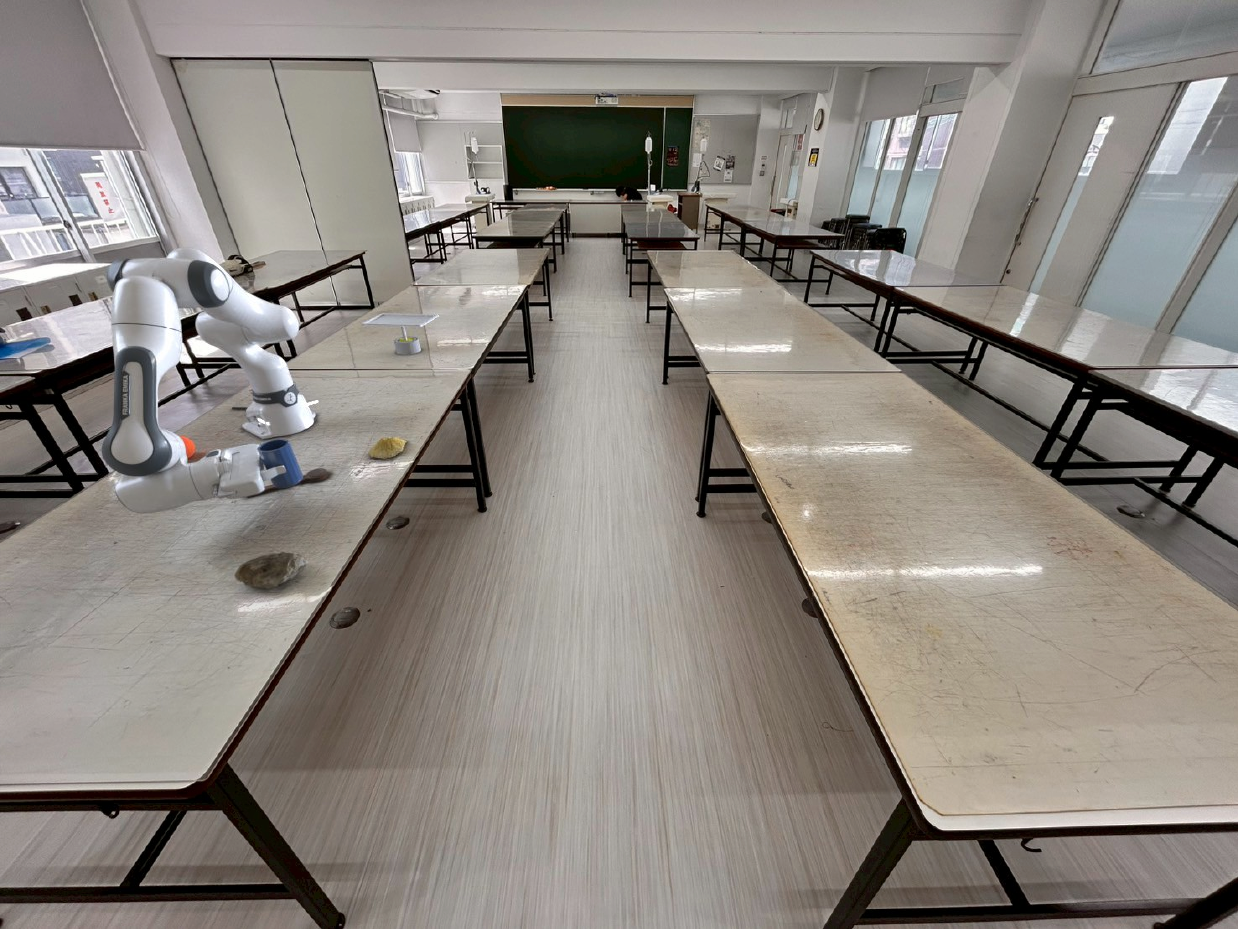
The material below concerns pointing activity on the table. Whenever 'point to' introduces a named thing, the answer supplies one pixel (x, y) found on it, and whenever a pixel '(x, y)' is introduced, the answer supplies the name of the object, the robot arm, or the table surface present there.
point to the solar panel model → (402, 320)
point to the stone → (271, 569)
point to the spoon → (311, 476)
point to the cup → (281, 462)
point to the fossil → (387, 448)
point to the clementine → (188, 446)
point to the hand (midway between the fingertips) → (284, 460)
